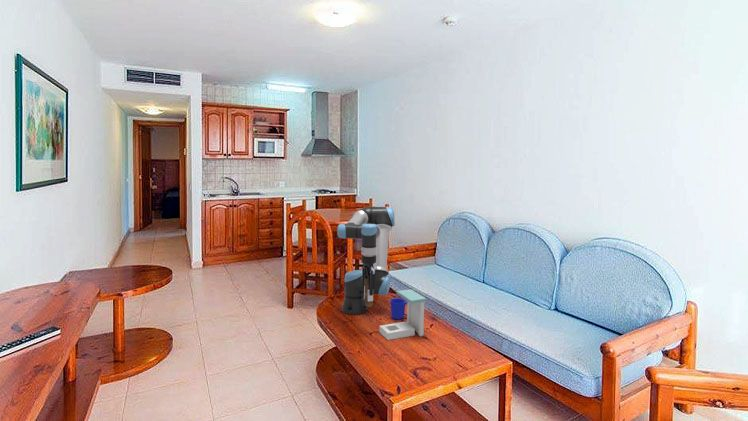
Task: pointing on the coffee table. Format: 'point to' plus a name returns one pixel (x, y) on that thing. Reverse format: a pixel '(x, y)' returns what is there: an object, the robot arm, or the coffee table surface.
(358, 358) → the coffee table surface
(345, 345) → the coffee table surface
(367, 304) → the peg
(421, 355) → the coffee table surface
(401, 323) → the station
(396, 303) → the mug
